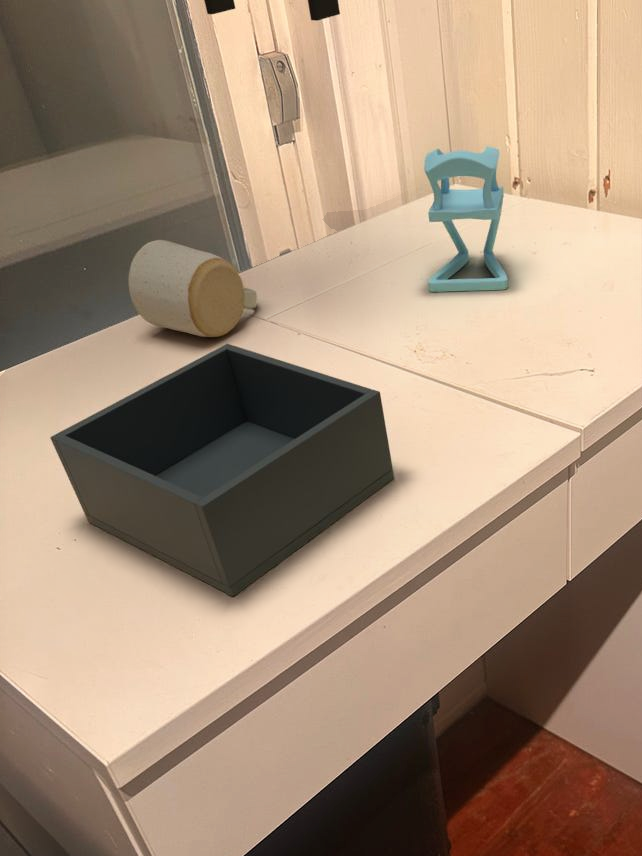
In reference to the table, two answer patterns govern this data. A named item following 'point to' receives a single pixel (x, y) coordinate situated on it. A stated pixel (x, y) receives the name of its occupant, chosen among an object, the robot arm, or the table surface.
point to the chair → (466, 213)
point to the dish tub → (228, 463)
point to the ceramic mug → (187, 289)
